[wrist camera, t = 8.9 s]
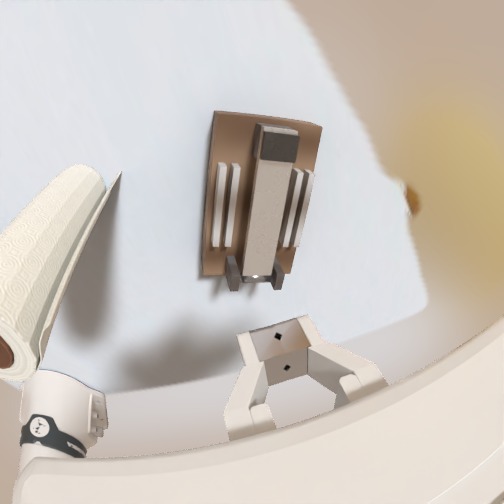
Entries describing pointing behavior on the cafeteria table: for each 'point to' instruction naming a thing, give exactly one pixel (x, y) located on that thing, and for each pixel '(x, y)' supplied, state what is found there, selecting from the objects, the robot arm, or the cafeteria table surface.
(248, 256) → the beige-grey bar
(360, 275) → the cafeteria table surface
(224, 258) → the wooden base lever press
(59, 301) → the paper towel roll
